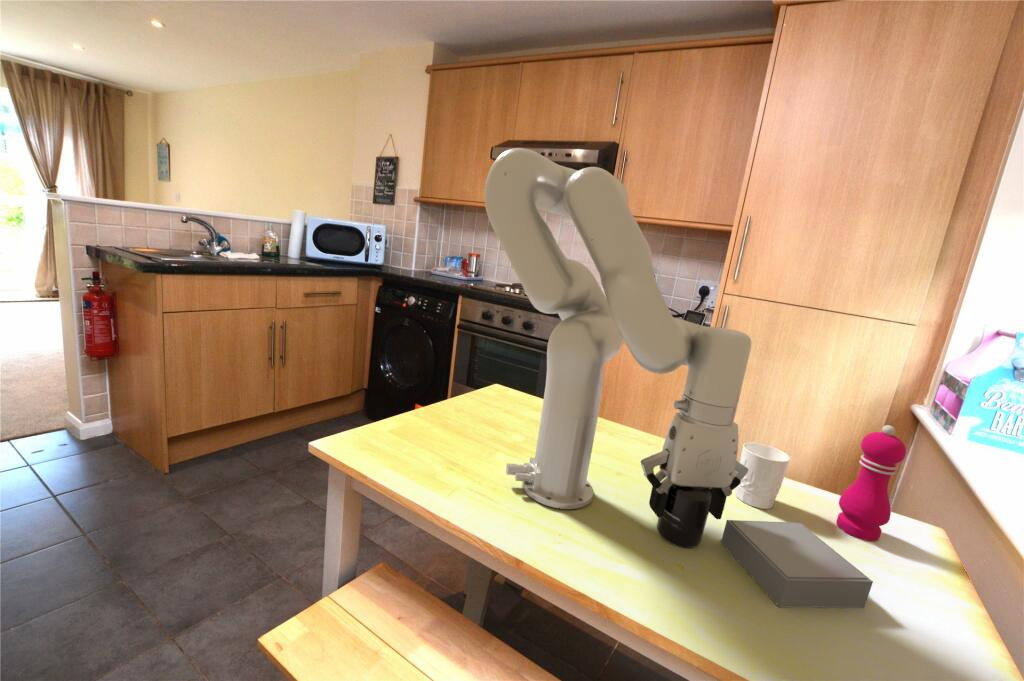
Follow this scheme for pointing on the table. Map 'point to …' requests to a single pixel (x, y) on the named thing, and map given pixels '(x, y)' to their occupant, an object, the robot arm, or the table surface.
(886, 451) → the pepper mill
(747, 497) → the white cup
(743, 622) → the table surface
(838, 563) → the slate riser
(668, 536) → the supplement bottle
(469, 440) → the table surface
